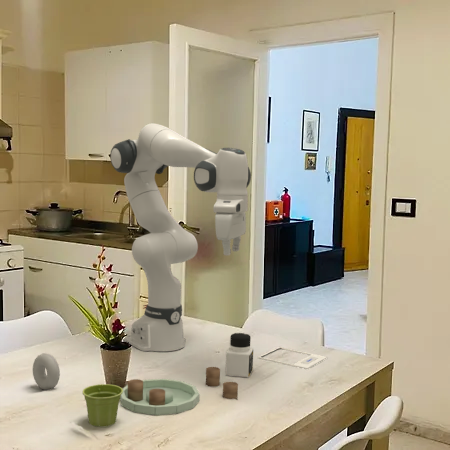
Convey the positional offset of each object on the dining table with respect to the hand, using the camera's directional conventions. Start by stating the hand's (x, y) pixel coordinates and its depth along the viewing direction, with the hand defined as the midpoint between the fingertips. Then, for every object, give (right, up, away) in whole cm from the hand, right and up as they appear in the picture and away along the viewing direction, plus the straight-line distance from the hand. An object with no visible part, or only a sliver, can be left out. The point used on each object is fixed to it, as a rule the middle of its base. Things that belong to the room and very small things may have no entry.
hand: (231, 253), depth 186 cm
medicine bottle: (+2, -37, +10) cm, 38 cm away
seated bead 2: (-19, -38, -24) cm, 49 cm away
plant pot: (-31, -40, -32) cm, 60 cm away
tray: (-19, -39, -17) cm, 46 cm away
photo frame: (+20, -36, +26) cm, 49 cm away
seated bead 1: (-25, -37, -17) cm, 48 cm away
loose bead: (-1, -39, -13) cm, 41 cm away
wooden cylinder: (-5, -37, -1) cm, 38 cm away
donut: (-51, -37, -9) cm, 63 cm away
